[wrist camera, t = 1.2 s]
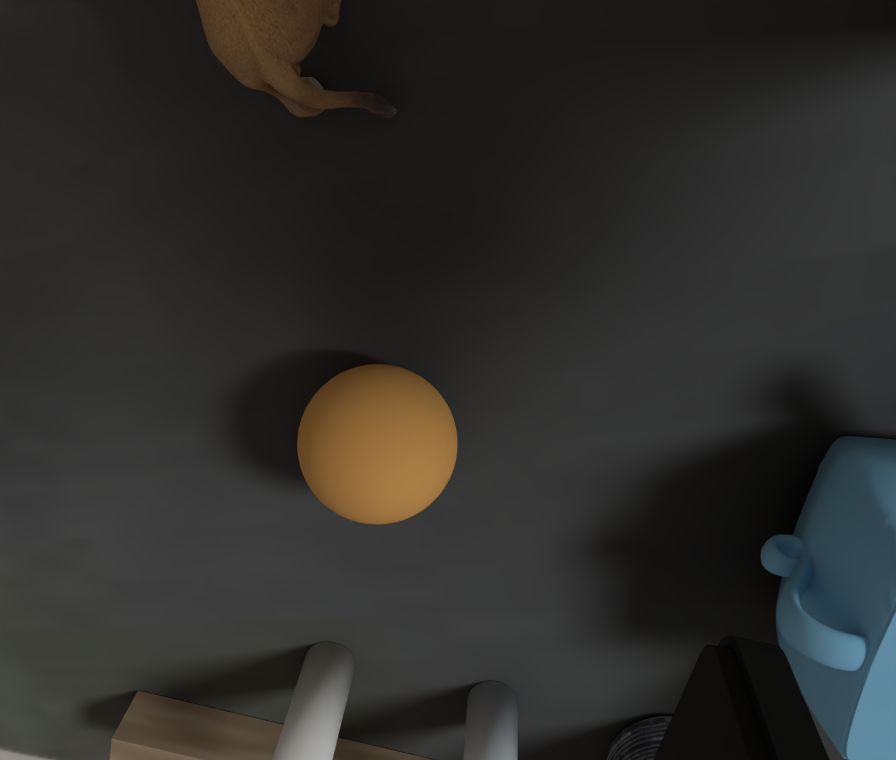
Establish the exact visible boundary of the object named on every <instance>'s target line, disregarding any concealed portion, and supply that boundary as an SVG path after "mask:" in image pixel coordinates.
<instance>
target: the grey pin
mask: <svg viewBox="0 0 896 760" xmlns="http://www.w3.org/2000/svg"><path fill="white" fill-rule="evenodd" d="M517 756H518V700H517V695H516V693H515V692H514V690H513V689H512V688H511V687H509V686H508V685H506V684H504V683H501V682H497V681H485V682H482V683H479V684H477V685H475V686H474V687H473V688H472V689H471V690H470V692H469V694H468V700H467V714H466V728H465V742H464V755H463V760H517Z"/></svg>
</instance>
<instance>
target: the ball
mask: <svg viewBox="0 0 896 760" xmlns="http://www.w3.org/2000/svg"><path fill="white" fill-rule="evenodd" d="M297 451H298V458H299V463H300V467H301V470H302V473H303V476H304V478H305V480H306V482H307V484H308V485H309V487H310V489H311V490H312V492H313V493H314V494H315V495H316V497H317V498H318V499H319V500H320V501H321V502H322V503H323V504H324V505H326V506H327V507H328V508H330V509H331V510H332V511H334V512H335V513H337V514H339V515H341V516H342V517H345V518H347V519H350V520H353V521H356V522H360V523H366V524H388V523H394V522H398V521H401V520H404V519H407V518H409V517H411V516H413V515H415V514H417V513H419V512H420V511H422V510H423V509H425V508H426V507H427V506H429V505H430V504H431V503H432V502H433V501H434V500H435V499H436V498H437V497H438V496H439V494H440V493H441V492H442V490H443V489H444V488H445V486H446V484H447V482H448V480H449V478H450V477H451V474H452V471H453V469H454V465H455V461H456V456H457V430H456V426H455V422H454V419H453V416H452V413H451V411H450V409H449V407H448V405H447V403H446V402H445V400H444V399H443V397H442V396H441V395H440V393H439V392H438V391H437V390H436V389H435V388H434V387H433V386H432V385H431V384H430V383H429V382H428V381H426V380H425V379H424V378H422V377H421V376H419V375H417V374H416V373H414V372H411V371H409V370H407V369H404V368H401V367H397V366H392V365H386V364H370V365H363V366H358V367H355V368H352V369H349V370H347V371H344V372H342V373H340V374H338V375H337V376H335V377H334V378H332V379H331V380H329V381H328V382H327V383H326V384H325V385H323V386H322V387H321V388H320V389H319V390H318V391H317V393H316V394H315V395H314V396H313V398H312V399H311V401H310V402H309V404H308V406H307V407H306V409H305V412H304V414H303V416H302V419H301V422H300V426H299V430H298V440H297Z"/></svg>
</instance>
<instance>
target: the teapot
mask: <svg viewBox="0 0 896 760" xmlns="http://www.w3.org/2000/svg"><path fill="white" fill-rule="evenodd" d="M761 563H762V565H763V566H764V568H765V569H766V570H768V571H769V572H771V573H773V574H775V575H779V576H782V579H781V584H780V588H779V593H778V599H777V605H776V632H777V639H778V643H779V647H780V648H781V649H782V650H783V651H784V653H785V655H786V657H787V659H788V661H789V664H790V666H791V669H792V671H793V673H794V676H795V678H796V681H797V683H798V685H799V688H800V690H801V693H802V695H803V697H804V699H805V700H806V702H807V704H808V705H809V707H810V709H811V710H812V712H813V714H814V715H815V717H816V718H817V720H818V721H819V723H820V724H821V726H822V727H823V729H824V730H825V732H826V733H827V735H828V736H829V738H830V740H831V741H832V743H833V744H834V745H835V747H836V748H837V750H838V751H839V752H840V754H841V755H842V756H843V758H845V759H848V760H896V440H894V439H883V438H872V437H856V436H845V437H839V438H838V439H836V440H835V441H834V442H833V443H832V445H831V446H830V448H829V450H828V451H827V453H826V455H825V457H824V459H823V460H822V462H821V463H820V465H819V467H818V472H817V474H816V476H815V479H814V481H813V484H812V486H811V488H810V491H809V493H808V496H807V498H806V501H805V503H804V506H803V508H802V511H801V513H800V516H799V518H798V521H797V524H796V527H795V530H794V533H793V535H776V536H773V537H771V538H770V539H768V540H767V541H766V543H765V544H764V546H763V547H762V549H761Z"/></svg>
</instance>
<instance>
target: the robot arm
mask: <svg viewBox="0 0 896 760" xmlns="http://www.w3.org/2000/svg"><path fill="white" fill-rule="evenodd" d="M653 760H829V758H828V755H827V753H826V750H825V748H824V746H823V743H822V741H821V738H820V736H819V733H818V731H817V729H816V726H815V724H814V721H813V719H812V717H811V714H810V712H809V709H808V707H807V705H806V702H805V700H804V697H803V695H802V693H801V690H800V688H799V685H798V683H797V681H796V678H795V676H794V673H793V671H792V669H791V666H790V664H789V661H788V659H787V657H786V655H785V653H784V651H783V650H782V649H781V648H780V647H778V646H776V645H772V644H767V643H762V642H758V641H753V640H749V639H744V638H740V637H735V636H726V637H724V638H723V639H722V640H721V641H720V643H719V645H718V646H714V645H707V646H705V647H704V648H703V650H702V652H701V654H700V656H699V658H698V660H697V662H696V665H695V667H694V669H693V671H692V674H691V676H690V678H689V680H688V683H687V685H686V687H685V689H684V692H683V694H682V696H681V698H680V701H679V703H678V705H677V707H676V710H675V712H674V714H673V716H672V719H671V721H670V723H669V725H668V727H667V730H666V732H665V734H664V736H663V739H662V741H661V743H660V745H659V748H658V750H657V752H656V754H655V757H654V759H653Z"/></svg>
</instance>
